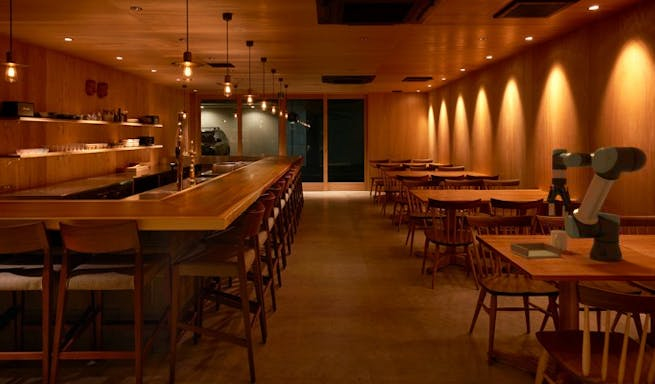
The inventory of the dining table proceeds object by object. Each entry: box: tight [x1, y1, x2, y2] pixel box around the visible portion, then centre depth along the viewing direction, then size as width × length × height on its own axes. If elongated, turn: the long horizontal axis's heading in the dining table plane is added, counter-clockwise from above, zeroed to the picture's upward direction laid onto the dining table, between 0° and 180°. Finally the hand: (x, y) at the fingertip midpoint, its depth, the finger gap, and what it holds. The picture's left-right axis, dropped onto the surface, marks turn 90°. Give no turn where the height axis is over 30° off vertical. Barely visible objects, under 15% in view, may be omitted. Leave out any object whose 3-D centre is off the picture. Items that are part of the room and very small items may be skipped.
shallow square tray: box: [509, 241, 563, 259], centre depth 303 cm, size 18×19×4 cm
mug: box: [550, 229, 568, 252], centre depth 314 cm, size 12×8×10 cm
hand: (558, 216), depth 313 cm, fingers open, 13 cm apart
